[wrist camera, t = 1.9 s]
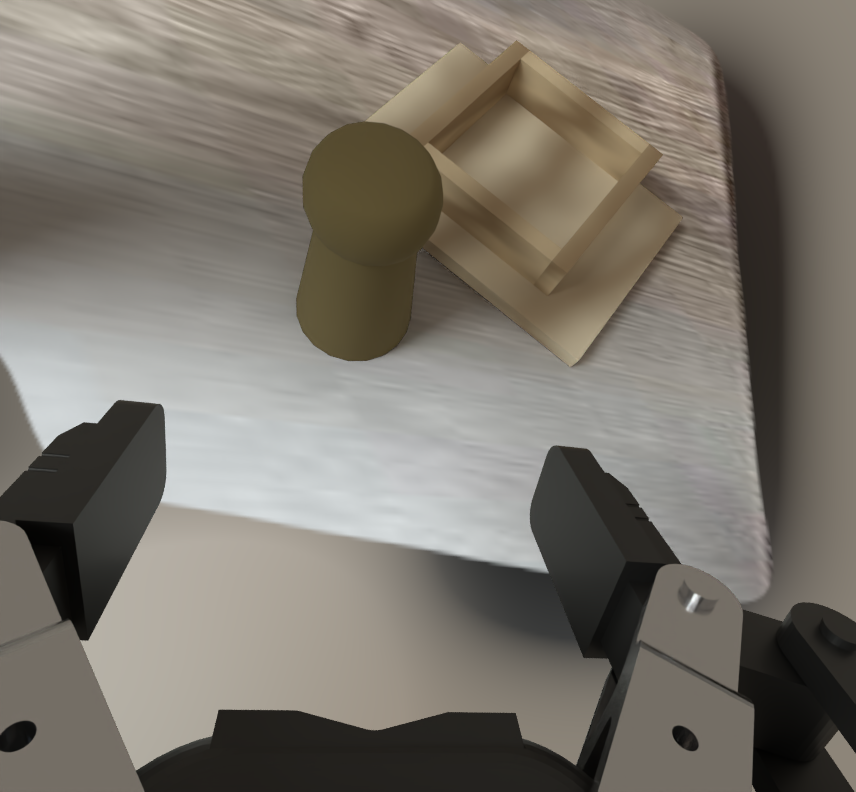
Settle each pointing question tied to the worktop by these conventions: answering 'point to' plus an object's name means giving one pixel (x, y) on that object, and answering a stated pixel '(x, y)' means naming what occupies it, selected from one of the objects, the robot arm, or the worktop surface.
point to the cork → (365, 237)
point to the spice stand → (534, 192)
